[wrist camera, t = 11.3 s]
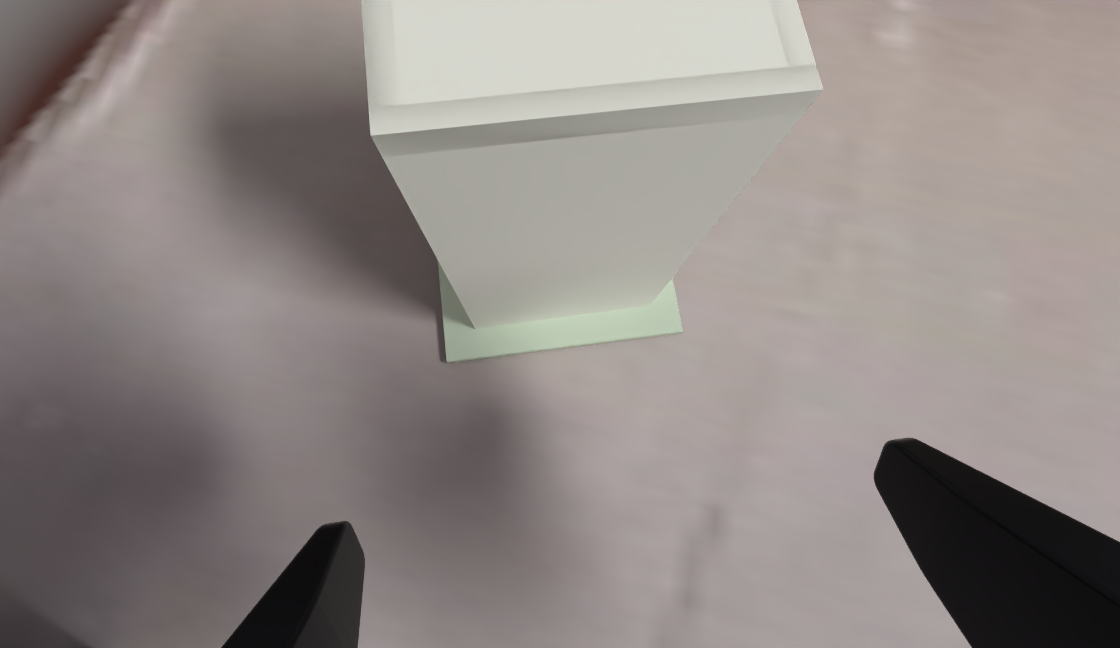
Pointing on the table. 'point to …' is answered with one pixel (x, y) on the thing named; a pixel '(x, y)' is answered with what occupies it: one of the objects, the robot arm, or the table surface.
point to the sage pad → (552, 328)
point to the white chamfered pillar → (577, 136)
